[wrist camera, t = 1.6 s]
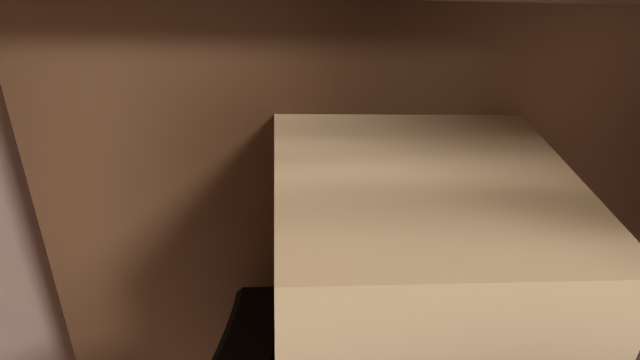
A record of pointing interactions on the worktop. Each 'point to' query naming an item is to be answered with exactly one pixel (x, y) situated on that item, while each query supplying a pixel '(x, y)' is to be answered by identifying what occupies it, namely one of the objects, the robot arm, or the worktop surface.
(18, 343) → the worktop surface
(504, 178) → the birch bar
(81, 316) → the cradle
